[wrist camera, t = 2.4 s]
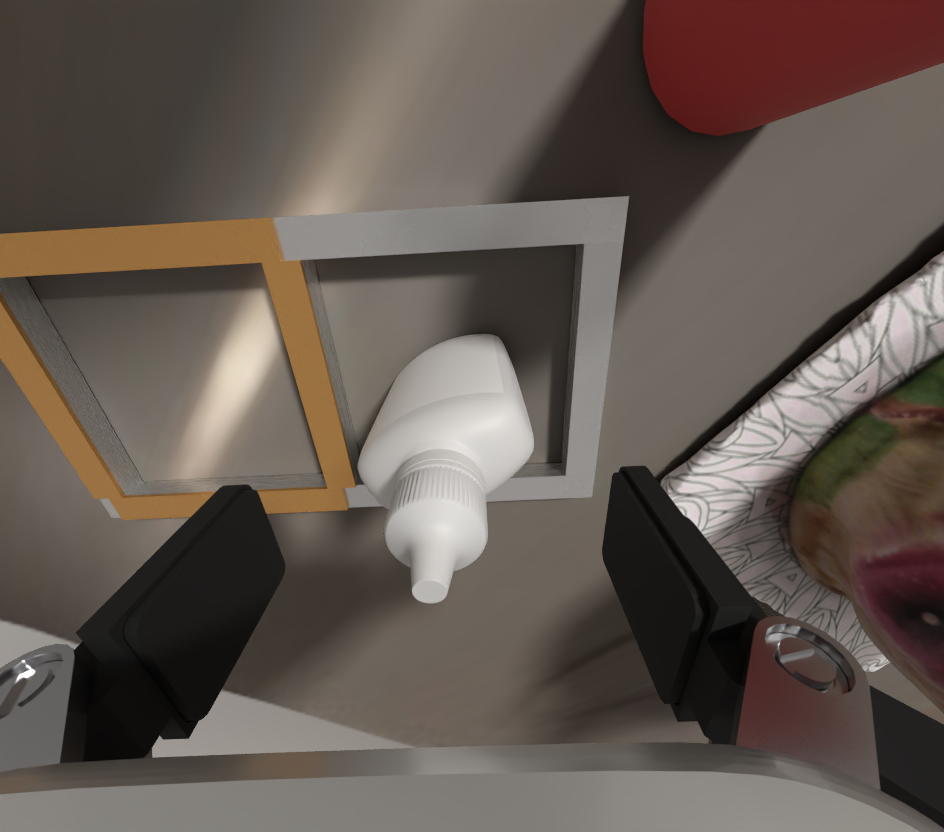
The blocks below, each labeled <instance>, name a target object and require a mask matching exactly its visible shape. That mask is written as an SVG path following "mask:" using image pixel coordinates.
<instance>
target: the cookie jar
mask: <svg viewBox="0 0 944 832" xmlns="http://www.w3.org/2000/svg"><path fill="white" fill-rule="evenodd" d="M659 484H660V485H661V486H662V488H663V489H664V490H665V492H666V493H667V494H668V495H669V497H670V498H671V499H672V501H673V502H674V503H675V505H676V506H677V507H678V508H679V510H680V511H681V512H682V514H683V515H684V516H685V517H688V518H689V519H690V520H691V521H692V522H693V523H694V524H695V525H696V526H697V528H698V529H699V530H700V532H701V533H702V534H703V535H704V537H705V538H706V539H707V540H708V542H709V543H710V544H711V546H712V547H713V548H714V549H715V551H716V552H717V553H718V555H719V556H720V557H721V558H722V560H723V561H724V562H725V563H726V565H727V566H728V567H729V569H730V570H731V571H732V572H733V574H734V575H735V576H736V578H737V579H738V580H739V581H740V583H741V584H742V585H743V586H744V588H745V589H746V590H747V592H748V593H749V594H750V595H751V597H755V598H756V599H757V600H759V601H761V602H764V603H767V604H768V605H769V606H770V607H771V608H772V609H773V610H775V611H777V612H779V613H781V614H783V615H784V616H785V617H791V618H795V619H797V620H800V621H803V622H806V623H809V624H811V625H813V626H815V627H816V628H818V629H820V630H822V631H824V632H826V633H827V634H828V635H830V636H831V637H833V638H834V639H835V640H837V641H838V642H839V643H841V644H842V645H843V646H844V647H845V648H846V649H847V650H848V651H849V652H850V653H851V654H852V655H853V656H854V657H855V658H856V659H857V661H858V662H859V664H860V665H861V667H862V668H863V670H864V671H867V672H875V671H876V670H878V669H880V668H881V667H883V666H885V665H886V664H888V663H889V662H891V663H892V664H893V665H894V666H895V667H896V668H897V669H898V670H899V671H900V672H901V673H902V674H903V675H904V676H905V677H906V678H907V679H908V680H909V681H911V682H912V683H913V684H914V685H915V686H916V687H917V688H918V689H919V690H920V691H921V692H922V693H923V694H924V695H925V696H926V697H927V698H928V699H929V700H930V701H931V702H932V703H933V704H935V705H936V706H937V707H938V708H939V709H940V710H941V711H942V712H943V713H944V251H943V252H942V253H940V254H939V255H937V256H935V257H934V258H932V259H931V260H930V261H929V262H928V263H927V264H926V265H925V266H924V267H923V268H922V269H921V270H919V271H918V272H917V273H915V274H914V275H912V276H911V277H909V278H908V279H906V280H905V281H903V282H902V283H900V284H899V285H897V286H896V287H894V288H893V289H892V290H890V291H889V292H887V293H886V294H884V295H883V296H881V297H880V298H879V299H877V300H876V301H875V302H873V303H872V304H871V305H870V306H868V307H867V308H866V309H865V310H864V311H863V312H862V313H860V314H859V315H858V316H857V317H856V318H855V319H853V320H852V321H851V322H850V323H849V324H848V325H847V326H845V327H844V328H843V329H842V330H841V331H839V332H838V333H837V334H836V335H835V336H833V337H832V338H831V339H830V340H829V341H827V342H826V343H825V344H824V345H823V346H821V347H820V348H819V349H818V350H817V351H815V352H814V353H813V354H812V355H811V356H809V357H808V358H807V359H806V360H805V361H803V362H802V363H801V364H800V365H799V366H798V367H796V368H795V369H794V370H793V371H792V372H790V373H789V374H788V375H787V376H786V377H785V378H783V379H782V380H781V381H780V382H779V383H778V384H776V385H775V386H774V387H773V388H772V389H771V390H769V391H768V392H767V393H766V394H765V395H764V396H762V397H761V398H760V399H759V400H758V401H757V402H755V403H754V404H753V405H752V406H751V407H749V408H748V409H747V410H746V411H745V412H744V413H742V414H741V415H740V416H739V417H738V418H736V419H735V420H734V421H733V422H732V423H730V424H729V425H728V426H727V427H726V428H724V429H723V430H722V431H721V432H720V433H719V434H718V435H716V436H715V437H714V438H713V439H712V440H711V441H709V442H708V443H707V444H706V445H705V446H704V447H703V448H702V449H700V450H699V451H698V452H697V453H696V454H695V455H694V456H692V457H691V458H690V459H689V460H688V461H686V462H685V463H684V464H682V465H681V466H679V467H678V468H676V469H675V470H673V471H672V472H670V473H669V474H668V475H666V476H665V477H664V478H663V479H662V480H661V482H660V483H659Z"/></svg>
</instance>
